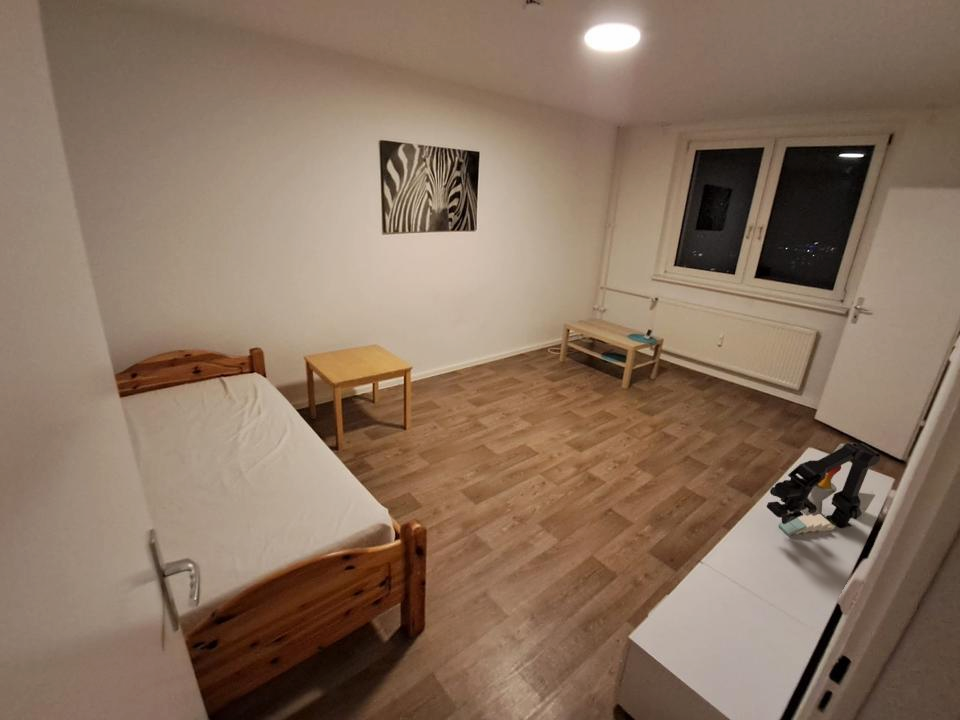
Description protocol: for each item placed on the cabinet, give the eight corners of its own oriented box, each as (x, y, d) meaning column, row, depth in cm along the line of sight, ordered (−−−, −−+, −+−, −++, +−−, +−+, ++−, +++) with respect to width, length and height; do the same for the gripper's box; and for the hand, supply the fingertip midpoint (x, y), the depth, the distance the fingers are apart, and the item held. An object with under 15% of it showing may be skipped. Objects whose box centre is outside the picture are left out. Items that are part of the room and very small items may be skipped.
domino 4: (801, 523, 182) (819, 516, 182) (811, 532, 178) (830, 525, 178) (801, 520, 182) (819, 513, 182) (812, 530, 177) (830, 523, 177)
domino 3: (793, 524, 181) (811, 516, 182) (803, 533, 177) (821, 525, 177) (793, 521, 181) (811, 514, 181) (804, 531, 176) (821, 523, 176)
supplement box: (851, 505, 196) (864, 483, 190) (862, 517, 189) (876, 494, 183) (834, 502, 196) (846, 480, 191) (844, 514, 189) (858, 492, 184)
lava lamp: (826, 519, 186) (864, 453, 171) (805, 517, 185) (842, 451, 170) (812, 504, 194) (847, 439, 179) (792, 502, 194) (826, 437, 179)
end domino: (807, 522, 183) (822, 520, 185) (818, 531, 179) (833, 529, 181) (809, 519, 183) (824, 517, 184) (819, 528, 178) (835, 526, 180)
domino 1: (788, 533, 174) (806, 525, 175) (778, 523, 179) (795, 516, 179) (788, 536, 175) (806, 528, 175) (778, 526, 179) (795, 518, 180)
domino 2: (785, 525, 180) (803, 517, 181) (795, 534, 176) (813, 527, 176) (785, 522, 180) (803, 515, 180) (796, 532, 175) (813, 524, 176)
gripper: (799, 477, 177) (784, 506, 184) (763, 481, 173) (748, 510, 179) (825, 496, 168) (808, 526, 174) (786, 501, 163) (771, 531, 170)
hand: (783, 523), depth 175 cm, fingers closed
